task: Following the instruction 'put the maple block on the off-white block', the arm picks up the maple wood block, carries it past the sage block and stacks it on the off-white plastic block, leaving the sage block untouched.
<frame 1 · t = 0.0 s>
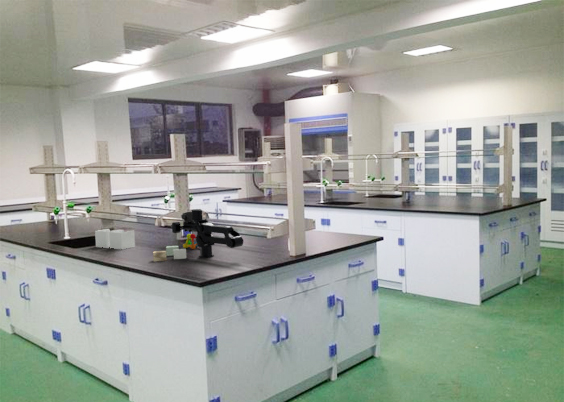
hand: (177, 225, 298), 17 cm above the counter, tool horizontal, fingers open, 9 cm apart
storage container: (115, 247, 326), on the counter
maple block: (160, 260, 277), on the counter
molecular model: (191, 248, 313), on the counter
offwhite block: (180, 258, 281), on the counter
sage block: (172, 254, 292), on the counter
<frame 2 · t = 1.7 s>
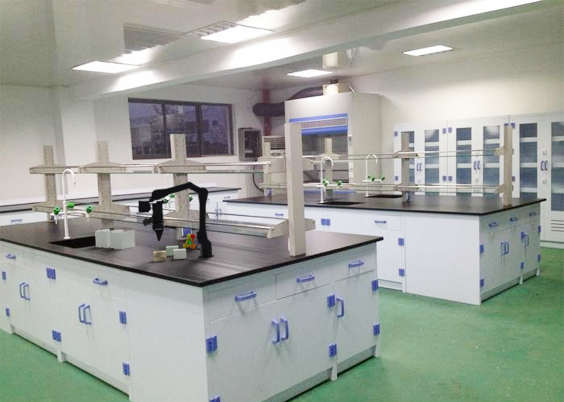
hand: (159, 239, 276), 12 cm above the counter, tool pointing down, fingers open, 9 cm apart
nothing on the counter moved.
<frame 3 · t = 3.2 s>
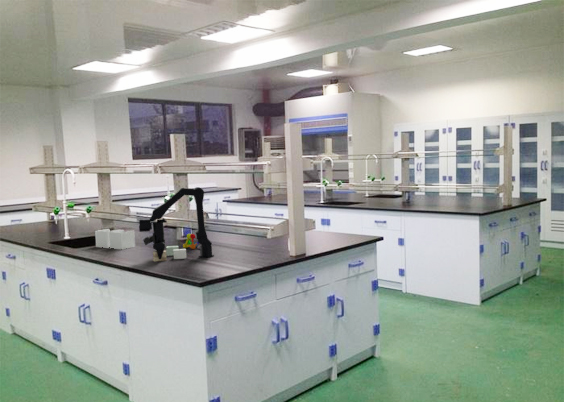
hand: (160, 258, 277), 1 cm above the counter, tool pointing down, fingers closed on maple block, 4 cm apart
maple block: (160, 260, 277), on the counter, touching gripper
everything else where it was.
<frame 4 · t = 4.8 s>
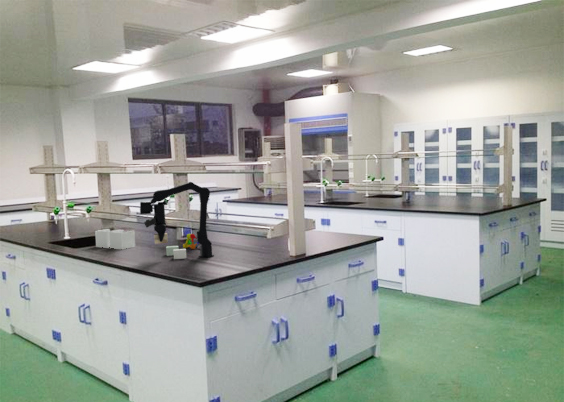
hand: (161, 241, 276), 11 cm above the counter, tool pointing down, fingers closed on maple block, 4 cm apart
maple block: (161, 242, 276), point 10 cm above the counter, touching gripper
everything else where it was.
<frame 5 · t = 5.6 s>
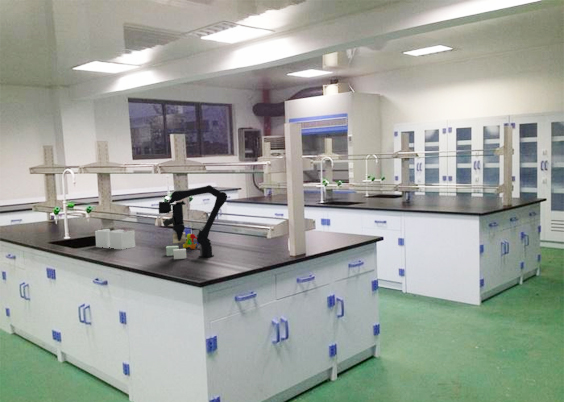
hand: (179, 240, 280), 10 cm above the counter, tool pointing down, fingers closed on maple block, 4 cm apart
maple block: (179, 242, 280), point 9 cm above the counter, touching gripper
everything else where it was.
when the fingers open (7 cm above the counter, at t = 6.3 s): maple block drops 2 cm, resting on offwhite block.
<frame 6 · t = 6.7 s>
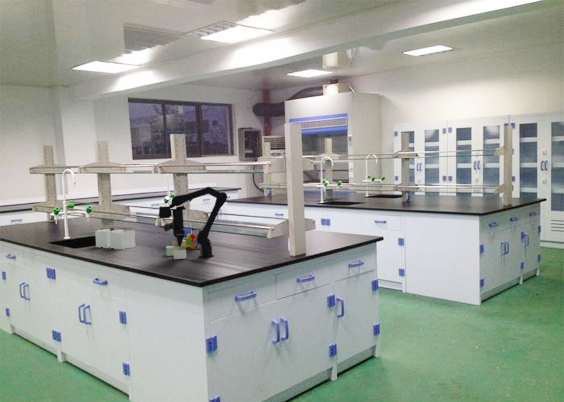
hand: (179, 245, 281), 7 cm above the counter, tool pointing down, fingers open, 8 cm apart
maple block: (179, 249, 281), point 5 cm above the counter, touching offwhite block
offwhite block: (180, 258, 281), on the counter, touching maple block
everything else where it was.
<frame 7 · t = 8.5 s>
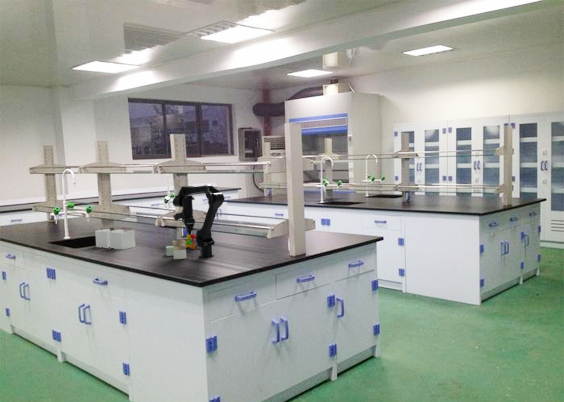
hand: (188, 233, 291), 12 cm above the counter, tool pointing down, fingers open, 9 cm apart
nothing on the counter moved.
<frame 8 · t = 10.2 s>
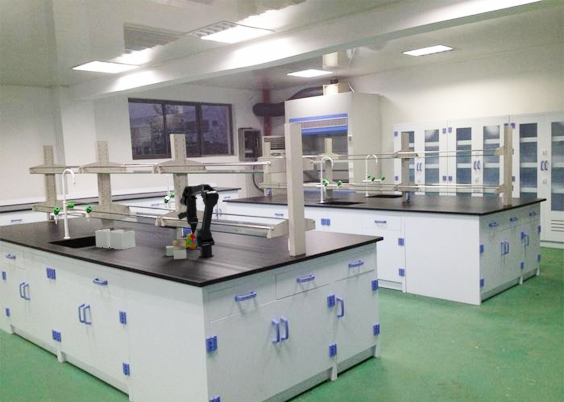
hand: (192, 232, 295), 12 cm above the counter, tool pointing down, fingers open, 9 cm apart
nothing on the counter moved.
at the end: maple block 0.0 cm off-centre on the offwhite block, point 5.0 cm above the offwhite block's base; sage block moved 0.2 cm from its start; offwhite block moved 0.1 cm from its start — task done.
